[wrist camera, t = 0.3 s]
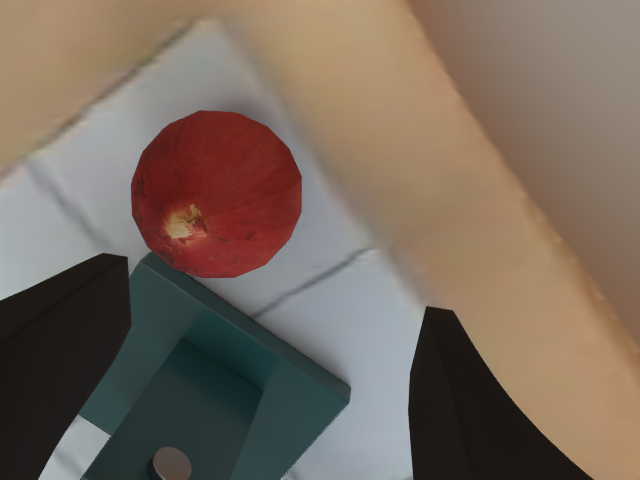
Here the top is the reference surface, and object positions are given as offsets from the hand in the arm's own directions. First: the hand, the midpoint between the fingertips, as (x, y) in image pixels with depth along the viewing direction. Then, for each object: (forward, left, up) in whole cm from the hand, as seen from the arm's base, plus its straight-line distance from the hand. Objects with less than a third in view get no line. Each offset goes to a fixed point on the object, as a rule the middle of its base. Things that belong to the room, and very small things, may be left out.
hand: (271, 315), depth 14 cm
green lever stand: (-11, -1, -11) cm, 15 cm away
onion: (-1, +3, -11) cm, 11 cm away
